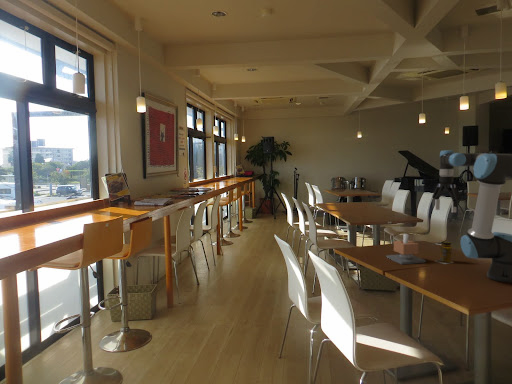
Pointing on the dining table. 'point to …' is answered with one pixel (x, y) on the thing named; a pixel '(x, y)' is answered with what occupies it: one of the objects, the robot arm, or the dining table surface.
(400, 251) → the collar
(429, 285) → the dining table surface
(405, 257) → the post stand
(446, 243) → the condiment
